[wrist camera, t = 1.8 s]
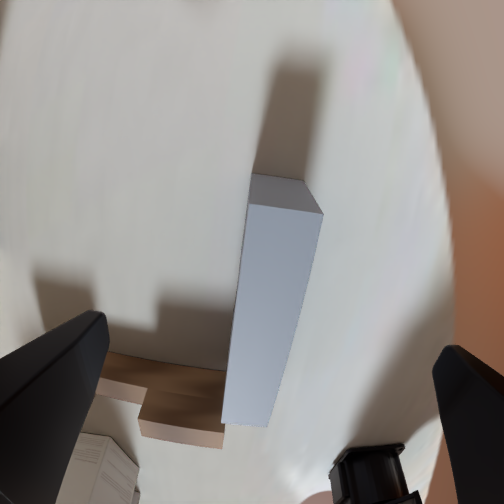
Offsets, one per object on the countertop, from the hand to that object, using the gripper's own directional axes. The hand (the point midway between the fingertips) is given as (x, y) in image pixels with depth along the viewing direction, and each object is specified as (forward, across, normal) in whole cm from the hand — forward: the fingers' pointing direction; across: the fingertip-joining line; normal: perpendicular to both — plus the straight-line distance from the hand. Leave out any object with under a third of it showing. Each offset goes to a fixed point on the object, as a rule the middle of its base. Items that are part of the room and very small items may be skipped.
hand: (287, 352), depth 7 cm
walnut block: (+10, +8, +12) cm, 17 cm away
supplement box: (+10, +14, +28) cm, 33 cm away
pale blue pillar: (+10, 0, +4) cm, 10 cm away
